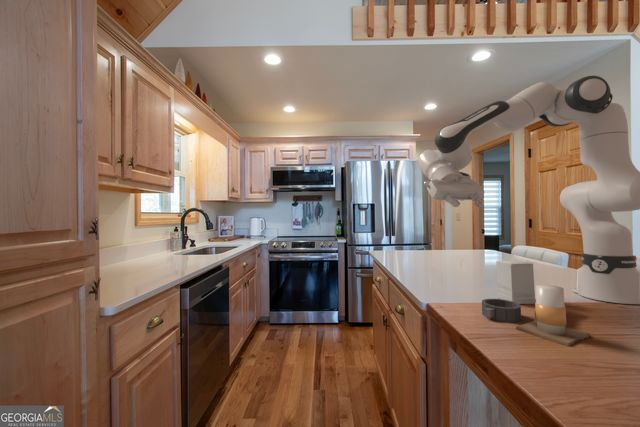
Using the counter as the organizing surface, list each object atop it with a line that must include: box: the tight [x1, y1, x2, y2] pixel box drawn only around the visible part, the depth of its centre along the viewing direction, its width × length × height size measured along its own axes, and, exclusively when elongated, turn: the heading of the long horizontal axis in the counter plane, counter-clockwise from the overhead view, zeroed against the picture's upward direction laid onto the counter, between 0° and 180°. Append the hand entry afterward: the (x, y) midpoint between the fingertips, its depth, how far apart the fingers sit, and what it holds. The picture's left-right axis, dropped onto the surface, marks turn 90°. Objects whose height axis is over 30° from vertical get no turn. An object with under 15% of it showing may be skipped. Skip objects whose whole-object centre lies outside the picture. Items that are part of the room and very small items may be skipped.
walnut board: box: [515, 319, 591, 347], centre depth 63 cm, size 10×10×1 cm
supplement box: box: [495, 259, 536, 305], centre depth 88 cm, size 7×7×13 cm
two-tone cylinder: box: [534, 284, 567, 335], centre depth 63 cm, size 5×5×10 cm
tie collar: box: [481, 298, 522, 323], centre depth 74 cm, size 10×9×4 cm
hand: (468, 205), depth 89 cm, fingers open, 8 cm apart
